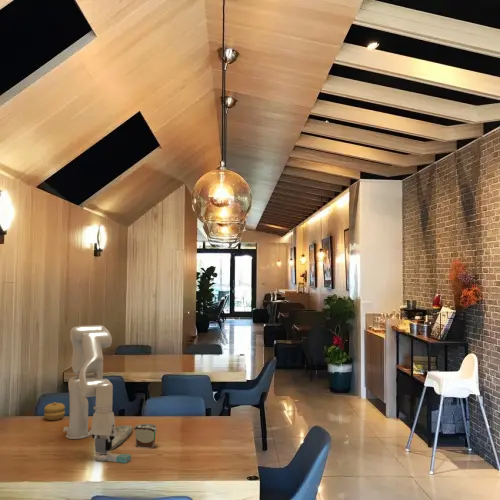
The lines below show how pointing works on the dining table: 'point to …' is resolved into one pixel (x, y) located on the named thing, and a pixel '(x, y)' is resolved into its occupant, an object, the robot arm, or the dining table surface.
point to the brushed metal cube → (101, 444)
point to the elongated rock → (121, 435)
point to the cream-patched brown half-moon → (145, 435)
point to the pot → (54, 411)
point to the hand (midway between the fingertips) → (103, 449)
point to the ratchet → (112, 457)
